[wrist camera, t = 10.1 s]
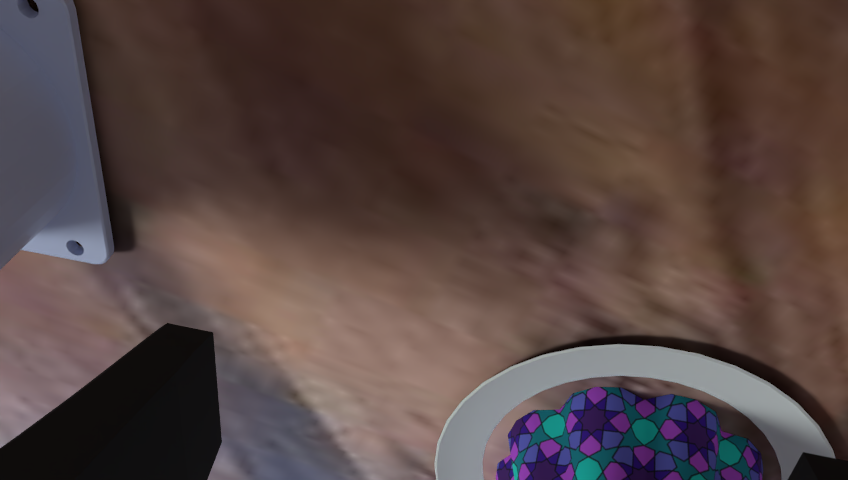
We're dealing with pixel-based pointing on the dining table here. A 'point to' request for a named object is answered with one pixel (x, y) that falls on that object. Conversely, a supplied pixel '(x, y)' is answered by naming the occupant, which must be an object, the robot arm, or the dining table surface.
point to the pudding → (625, 421)
